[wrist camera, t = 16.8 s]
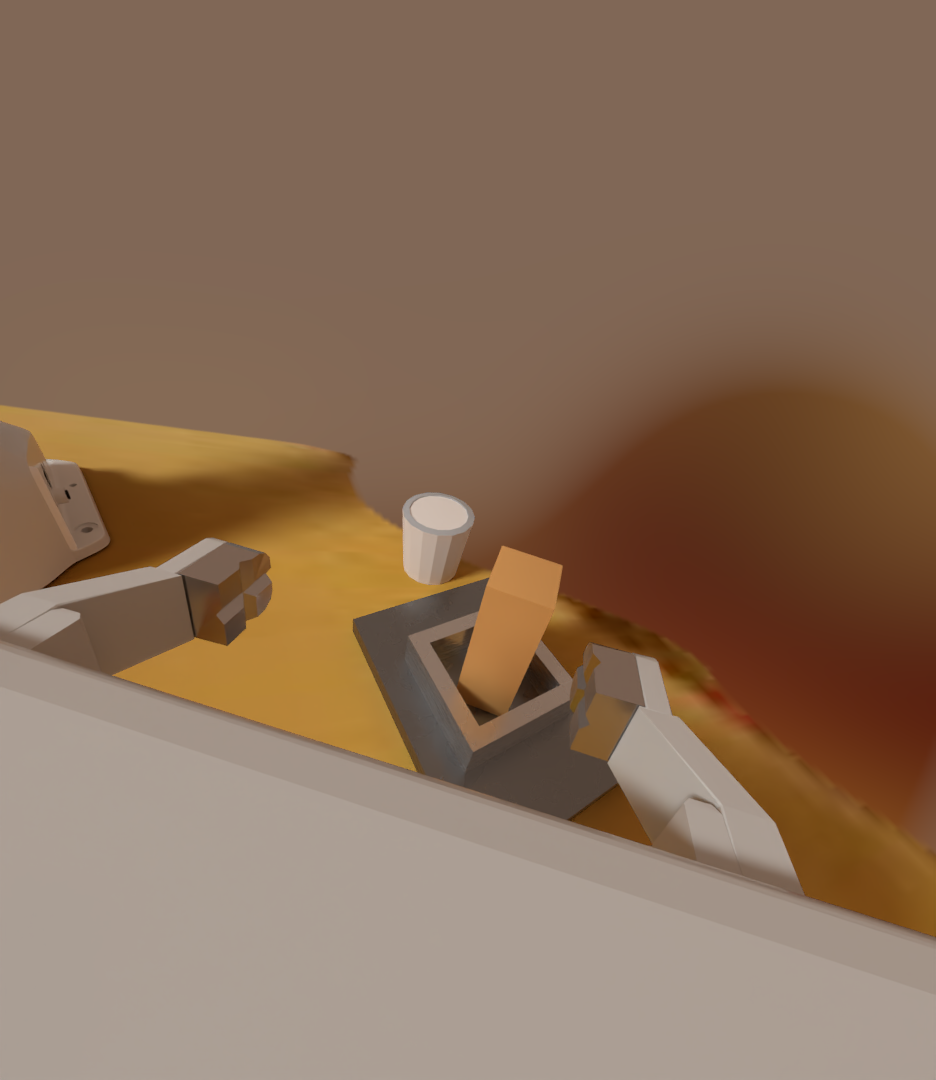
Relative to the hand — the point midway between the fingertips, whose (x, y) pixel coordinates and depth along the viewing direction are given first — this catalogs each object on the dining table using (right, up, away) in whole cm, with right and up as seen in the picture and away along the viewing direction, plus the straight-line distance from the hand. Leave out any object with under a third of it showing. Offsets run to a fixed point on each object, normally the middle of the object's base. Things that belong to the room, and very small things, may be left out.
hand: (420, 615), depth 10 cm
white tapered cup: (-3, -1, +34) cm, 34 cm away
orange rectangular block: (+3, -9, +22) cm, 24 cm away
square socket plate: (+2, -11, +23) cm, 26 cm away
